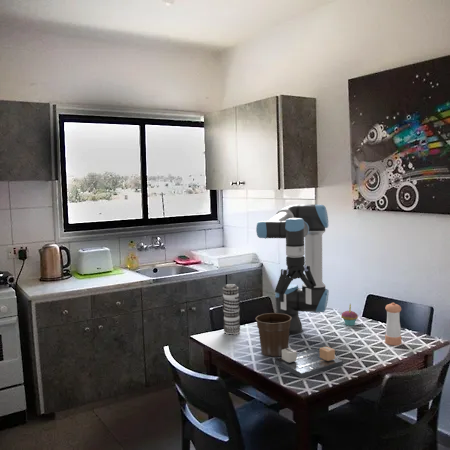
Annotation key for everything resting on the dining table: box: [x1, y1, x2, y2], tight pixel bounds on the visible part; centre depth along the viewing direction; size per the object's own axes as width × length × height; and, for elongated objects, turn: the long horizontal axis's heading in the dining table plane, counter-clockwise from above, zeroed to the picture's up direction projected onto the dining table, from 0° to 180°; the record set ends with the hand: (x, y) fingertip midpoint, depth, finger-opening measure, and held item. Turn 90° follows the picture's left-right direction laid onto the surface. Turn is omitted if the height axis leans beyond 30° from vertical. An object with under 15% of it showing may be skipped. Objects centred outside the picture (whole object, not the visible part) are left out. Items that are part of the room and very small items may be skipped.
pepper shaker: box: [384, 302, 403, 346], centre depth 226 cm, size 7×7×19 cm
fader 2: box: [319, 346, 336, 361], centre depth 205 cm, size 5×4×4 cm
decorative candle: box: [221, 283, 241, 335], centre depth 249 cm, size 9×9×25 cm
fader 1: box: [281, 347, 298, 363], centre depth 204 cm, size 5×4×4 cm
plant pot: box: [255, 312, 292, 358], centre depth 220 cm, size 16×16×16 cm
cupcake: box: [340, 303, 359, 327], centre depth 256 cm, size 9×8×12 cm
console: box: [274, 347, 344, 379], centre depth 205 cm, size 18×22×2 cm
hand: (296, 306), depth 201 cm, fingers open, 13 cm apart
